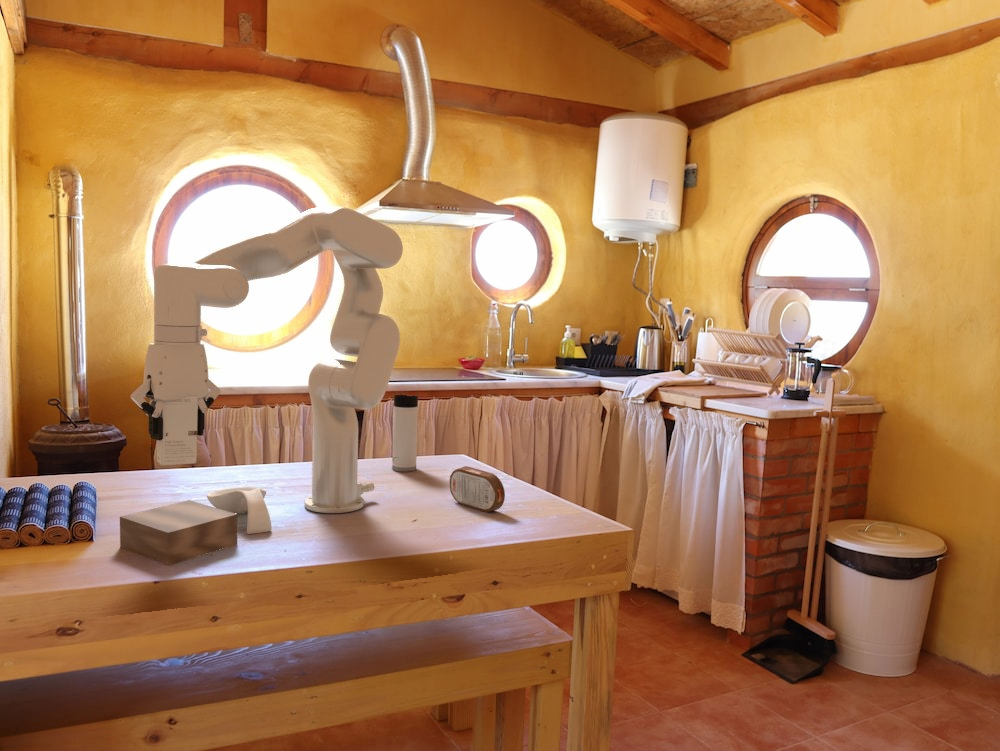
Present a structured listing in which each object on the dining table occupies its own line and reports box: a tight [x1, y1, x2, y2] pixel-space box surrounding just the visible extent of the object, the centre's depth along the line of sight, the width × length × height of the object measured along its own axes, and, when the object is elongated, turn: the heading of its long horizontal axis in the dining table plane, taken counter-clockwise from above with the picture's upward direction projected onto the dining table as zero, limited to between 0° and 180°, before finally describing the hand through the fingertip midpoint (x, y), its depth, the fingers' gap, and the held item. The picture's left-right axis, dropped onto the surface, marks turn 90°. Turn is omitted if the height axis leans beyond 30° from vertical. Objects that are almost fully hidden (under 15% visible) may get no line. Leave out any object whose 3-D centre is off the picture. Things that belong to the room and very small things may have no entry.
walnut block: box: [119, 499, 238, 566], centre depth 142 cm, size 14×14×6 cm
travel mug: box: [391, 394, 419, 473], centre depth 205 cm, size 6×7×20 cm
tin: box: [449, 465, 506, 513], centre depth 174 cm, size 15×3×8 cm, turn 47°
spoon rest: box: [206, 486, 273, 535], centre depth 161 cm, size 24×12×7 cm, turn 33°
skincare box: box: [156, 396, 198, 467], centre depth 140 cm, size 6×4×12 cm
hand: (177, 435), depth 140 cm, fingers closed on skincare box, 6 cm apart
